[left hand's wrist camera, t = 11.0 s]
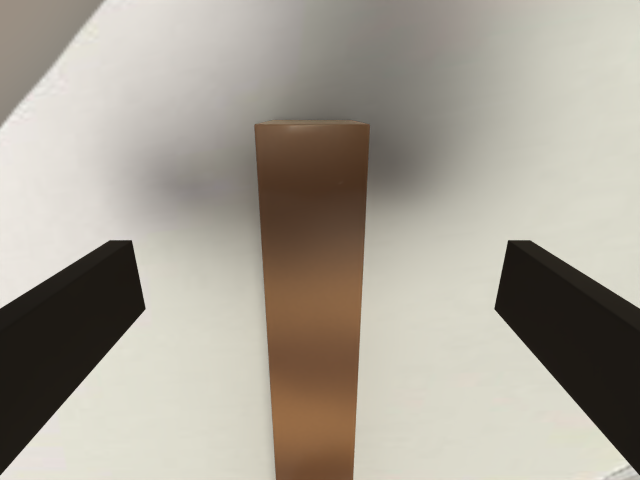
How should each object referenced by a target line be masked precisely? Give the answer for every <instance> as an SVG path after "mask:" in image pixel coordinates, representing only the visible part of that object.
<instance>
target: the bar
mask: <svg viewBox="0 0 640 480" xmlns="http://www.w3.org/2000/svg"><path fill="white" fill-rule="evenodd" d="M254 126H255V142H256V159H257V175H258V191H259V208H260V224H261V240H262V257H263V273H264V289H265V306H266V322H267V338H268V355H269V371H270V388H271V404H272V420H273V437H274V453H275V469H276V480H353V469H354V448H355V427H356V406H357V385H358V364H359V343H360V322H361V301H362V280H363V259H364V238H365V217H366V196H367V175H368V154H369V133H370V125H369V124H366V123H362V122H357V121H353V120H271V121H267V122H263V123H258V124H255V125H254Z"/></svg>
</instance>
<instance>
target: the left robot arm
mask: <svg viewBox="0 0 640 480" xmlns="http://www.w3.org/2000/svg"><path fill="white" fill-rule="evenodd" d="M145 309H146V308H145V303H144V298H143V294H142V289H141V284H140V279H139V274H138V269H137V264H136V259H135V254H134V249H133V244H132V240H110V241H108V242H106V243H105V244H103V245H102V246H100V247H98V248H97V249H95V250H94V251H92V252H90V253H89V254H87V255H86V256H84V257H82V258H81V259H79V260H78V261H76V262H74V263H73V264H71V265H70V266H68V267H66V268H65V269H63V270H62V271H60V272H58V273H57V274H55V275H54V276H52V277H50V278H49V279H47V280H46V281H44V282H42V283H41V284H39V285H38V286H36V287H34V288H33V289H31V290H29V291H28V292H26V293H25V294H23V295H21V296H20V297H18V298H17V299H15V300H13V301H12V302H10V303H9V304H7V305H5V306H4V307H2V308H1V309H0V475H1V474H2V473H3V472H4V471H5V469H6V468H7V467H8V466H9V465H10V464H11V463H12V461H13V460H14V459H15V458H16V457H17V456H18V454H19V453H20V452H21V451H22V450H23V449H24V448H25V446H26V445H27V444H28V443H29V442H30V441H31V440H32V438H33V437H34V436H35V435H36V434H37V433H38V432H39V430H40V429H41V428H42V427H43V426H44V425H45V424H46V422H47V421H48V420H49V419H50V418H51V417H52V416H53V414H54V413H55V412H56V411H57V410H58V409H59V408H60V406H61V405H62V404H63V403H64V402H65V401H66V400H67V398H68V397H69V396H70V395H71V394H72V393H73V392H74V390H75V389H76V388H77V387H78V386H79V385H80V384H81V382H82V381H83V380H84V379H85V378H86V377H87V376H88V374H89V373H90V372H91V371H92V370H93V369H94V368H95V366H96V365H97V364H98V363H99V362H100V361H101V360H102V358H103V357H104V356H105V355H106V354H107V353H108V351H109V350H110V349H111V348H112V347H113V346H114V345H115V343H116V342H117V341H118V340H119V339H120V338H121V337H122V335H123V334H124V333H125V332H126V331H127V330H128V329H129V327H130V326H131V325H132V324H133V323H134V322H135V321H136V319H137V318H138V317H139V316H140V315H141V314H142V313H143V311H144V310H145ZM494 309H495V310H496V311H497V313H498V314H499V315H500V316H501V317H502V318H503V319H504V321H505V322H506V323H507V324H508V325H509V326H510V327H511V329H512V330H513V331H514V332H515V333H516V334H517V335H518V337H519V338H520V339H521V340H522V341H523V342H524V343H525V345H526V346H527V347H528V348H529V349H530V350H531V351H532V353H533V354H534V355H535V356H536V357H537V358H538V360H539V361H540V362H541V363H542V364H543V365H544V366H545V368H546V369H547V370H548V371H549V372H550V373H551V374H552V376H553V377H554V378H555V379H556V380H557V381H558V382H559V384H560V385H561V386H562V387H563V388H564V389H565V390H566V392H567V393H568V394H569V395H570V396H571V397H572V398H573V400H574V401H575V402H576V403H577V404H578V405H579V406H580V408H581V409H582V410H583V411H584V412H585V413H586V414H587V416H588V417H589V418H590V419H591V420H592V421H593V422H594V424H595V425H596V426H597V427H598V428H599V429H600V430H601V432H602V433H603V434H604V435H605V436H606V437H607V438H608V440H609V441H610V442H611V443H612V444H613V445H614V446H615V448H616V449H617V450H618V451H619V452H620V453H621V454H622V456H623V457H624V458H625V459H626V460H627V461H628V463H629V464H630V465H631V466H632V467H633V468H634V469H635V471H636V472H637V473H638V474H639V475H640V309H639V308H638V307H636V306H635V305H633V304H631V303H630V302H628V301H627V300H625V299H623V298H622V297H620V296H619V295H617V294H615V293H614V292H612V291H611V290H609V289H607V288H606V287H604V286H602V285H601V284H599V283H598V282H596V281H594V280H593V279H591V278H590V277H588V276H586V275H585V274H583V273H582V272H580V271H578V270H577V269H575V268H574V267H572V266H570V265H569V264H567V263H566V262H564V261H562V260H561V259H559V258H558V257H556V256H554V255H553V254H551V253H550V252H548V251H546V250H545V249H543V248H542V247H540V246H538V245H537V244H535V243H534V242H532V241H530V240H508V244H507V249H506V254H505V259H504V264H503V269H502V274H501V279H500V284H499V289H498V294H497V298H496V303H495V308H494Z"/></svg>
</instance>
